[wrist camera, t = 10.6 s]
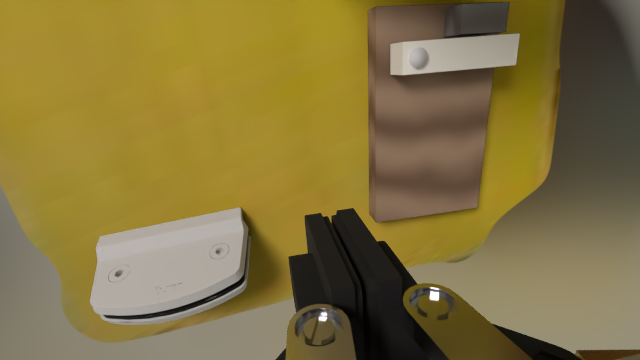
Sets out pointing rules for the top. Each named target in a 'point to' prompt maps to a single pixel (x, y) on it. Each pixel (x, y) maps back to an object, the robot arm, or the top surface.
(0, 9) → the top surface
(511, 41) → the folding leg
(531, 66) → the top surface
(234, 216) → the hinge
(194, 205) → the top surface
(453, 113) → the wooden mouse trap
